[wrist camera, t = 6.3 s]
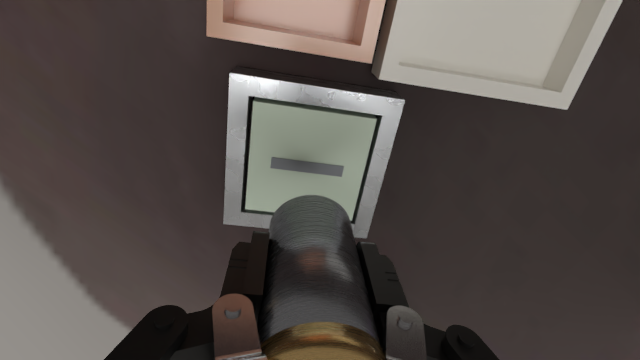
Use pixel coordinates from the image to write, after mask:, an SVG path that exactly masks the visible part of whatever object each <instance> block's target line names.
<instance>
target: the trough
mask: <svg viewBox="0 0 640 360" xmlns="http://www.w3.org/2000/svg"><path fill="white" fill-rule="evenodd" d="M622 1H623V0H387V4H386V8H385V13H384V17H383V22H382V26H381V30H380V35H379V39H378V44H377V48H376V53H375V57H374V62H373V66H372V70H371V73H373V74H374V75H375V76H376V77H377V78H378V79H380V80H386V81H392V82H398V83H405V84H411V85H417V86H423V87H429V88H435V89H442V90H448V91H454V92H460V93H466V94H473V95H479V96H485V97H491V98H497V99H503V100H510V101H516V102H522V103H528V104H534V105H541V106H547V107H553V108H559V109H565V110H567V109H568V107H569V105H570V103H571V101H572V99H573V97H574V95H575V93H576V92H577V90H578V88H579V86H580V84H581V82H582V80H583V78H584V76H585V74H586V72H587V70H588V68H589V66H590V64H591V62H592V60H593V58H594V56H595V54H596V52H597V50H598V48H599V46H600V44H601V42H602V40H603V38H604V36H605V34H606V32H607V30H608V28H609V26H610V24H611V22H612V20H613V18H614V16H615V14H616V12H617V10H618V8H619V7H620V5H621V3H622Z"/></svg>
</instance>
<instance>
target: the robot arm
mask: <svg viewBox="0 0 640 360" xmlns="http://www.w3.org/2000/svg"><path fill="white" fill-rule="evenodd" d="M269 236H270V233H266V232H256V231H253V236H252V241H251V243H246V242H239V243H238V244H237V245H236V246H235V247H234V248H233V249H232V253H231V257H230V261H229V265H228V268H227V272H226V276H225V280H224V284H223V288H222V291H221V295H220V297H219V299H218V300H217V301H216V302H215V303H214V305H212V306H211V307H209V308H207V309H205V310H202V311H198V312H193V313H189V314H186V312H185V311H184V310H183V309H182V308H180V307H178V306H174V305H165V306H161V307H158V308H155V309H154V310H152V311H150V312H149V313H148V314H147V315H146V316H145V317H144V318H143V319H142V320H141V321H140V322H139V323H138V324H137V325H136V326H135V327H134V328H133V329H132V331H131V332H130V333H129V334H128V335H127V336H126V337H125V338H124V339H123V340H122V341H121V342H120V343H119V344H118V345H117V346H116V347H115V348H114V350H113V351H112V352H111V353H110V354H109V355H108V356H107V357H106V358H105V359H104V360H267V357H266V355H265V353H262V351H261V346H260V341H259V335H258V330H257V321H258V315H259V312H260V310H261V305H262V296H263V288H264V279H265V271H266V262H267V253H268V245H269ZM356 247H357V251H358V255H359V259H360V263H361V268H362V272H363V276H364V280H365V284H366V288H367V292H368V296H369V301H370V305H371V309H372V313H373V317H374V321H375V325H376V330H377V334H378V338H379V342H380V346H381V347H382V349H383V352H384V358H385V360H499V359H498V358H497V356H496V355H495V354H494V353H493V352H492V351H491V350H490V348H489V347H488V346H487V345H486V344H485V343H484V342H483V341H482V339H481V338H480V337H479V336H478V335H477V334H476V333H475V332H473V331H472V330H470V329H469V328H467V327H464V326H461V325H452V326H450V327H448V328H447V330H446V332H444V331H441V330H438V329H436V328H433V327H430V326H427V325H425V324H424V323H423V321H422V319H421V317H420V316H419V315H418V314H417V313H416V312H415V311H414V310H412V309H410V308H409V306H408V303H407V300H406V297H405V295H404V292H403V289H402V287H401V284H400V282H399V279H398V276H397V275H396V270H395V268H394V265H393V263H392V262H391V261H390V260H389V259H388V258H387V256H385V255H379V252H378V249H377V246H376V244H375V243H367V242H358V243H357V246H356Z"/></svg>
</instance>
